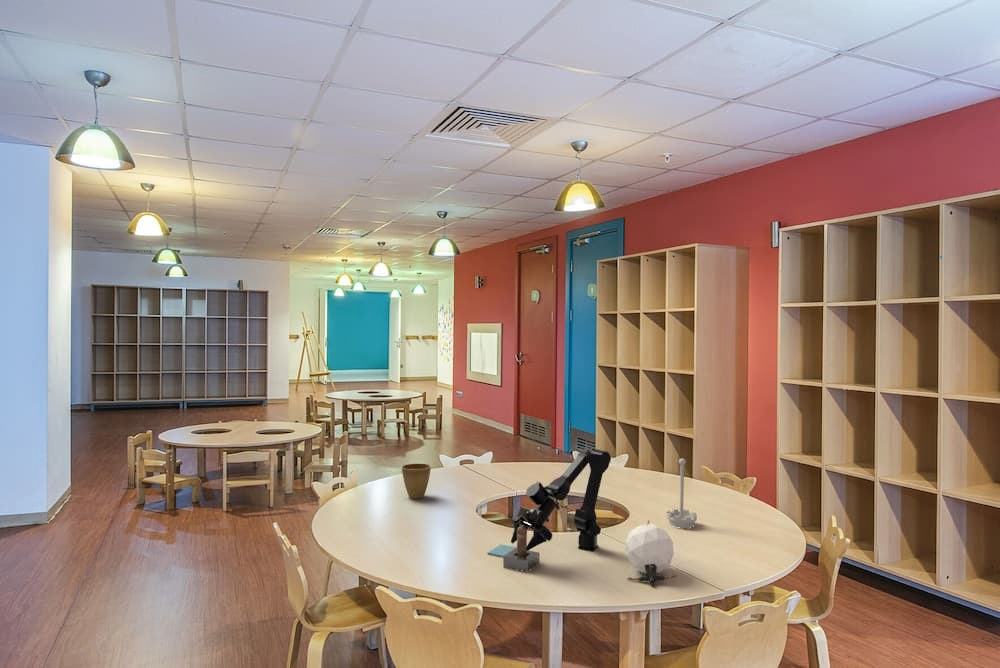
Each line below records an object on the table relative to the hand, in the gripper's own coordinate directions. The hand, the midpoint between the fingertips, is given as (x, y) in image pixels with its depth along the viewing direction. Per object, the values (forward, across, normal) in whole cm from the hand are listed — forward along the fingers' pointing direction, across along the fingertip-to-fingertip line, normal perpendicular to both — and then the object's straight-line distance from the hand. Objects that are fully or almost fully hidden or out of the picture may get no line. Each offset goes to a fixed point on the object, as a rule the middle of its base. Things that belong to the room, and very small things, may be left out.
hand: (518, 546), depth 238 cm
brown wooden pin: (+4, 0, +6) cm, 7 cm away
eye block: (+4, 0, +6) cm, 7 cm away
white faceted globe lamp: (-19, +32, +30) cm, 48 cm away
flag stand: (-59, +1, +69) cm, 91 cm away
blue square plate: (+2, -14, +8) cm, 16 cm away
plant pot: (-3, -104, +13) cm, 105 cm away
